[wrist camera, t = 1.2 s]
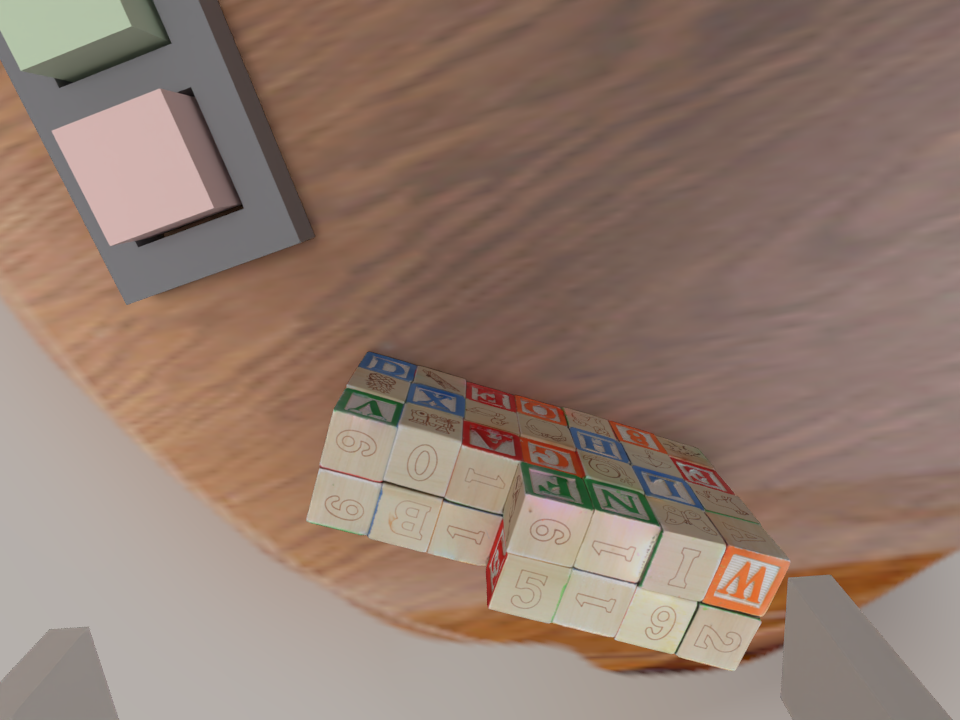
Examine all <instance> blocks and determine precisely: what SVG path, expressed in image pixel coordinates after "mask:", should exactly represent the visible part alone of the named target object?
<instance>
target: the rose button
mask: <svg viewBox="0 0 960 720" xmlns="http://www.w3.org/2000/svg"><path fill="white" fill-rule="evenodd" d="M52 133H53V135H54V137H55V139H56V141H57V143H58V145H59V147H60V149H61V151H62V153H63V155H64V157H65V159H66V161H67V163H68V165H69V167H70V169H71V171H72V172H73V174H74V176H75V178H76V180H77V182H78V184H79V186H80V188H81V190H82V192H83V194H84V196H85V198H86V200H87V202H88V204H89V206H90V208H91V210H92V212H93V214H94V216H95V218H96V220H97V222H98V224H99V226H100V228H101V230H102V232H103V234H104V235H105V237H106V239H107V241H108V243H109V245H110V246H113V245H118V244H123V243H128V242H133V241H137V240H142V239H147V238H152V237H155V236H157V235H160V234H163V233H166V232H168V231H171V230H174V229H177V228H179V227H182V226H185V225H187V224H190V223H193V222H196V221H198V220H201V219H204V218H206V217H209V216H212V215H215V214H217V213H220V212H223V211H226V210H228V209H231V208H234V207H236V206H239V205H242V202H241V200H240V197H239V195H238V193H237V191H236V188H235V186H234V184H233V182H232V179H231V177H230V175H229V172H228V170H227V168H226V166H225V163H224V161H223V159H222V157H221V154H220V152H219V150H218V147H217V145H216V143H215V141H214V138H213V136H212V134H211V132H210V129H209V127H208V125H207V122H206V120H205V118H204V116H203V113H202V111H201V109H200V106H199V104H198V102H197V100H196V97H192V96H188V95H184V94H180V93H176V92H172V91H168V90H165V89H161V88H160V89H157V90H154V91H152V92H149V93H147V94H144V95H142V96H139V97H136V98H134V99H131V100H129V101H126V102H124V103H121V104H119V105H116V106H113V107H111V108H108V109H106V110H103V111H101V112H98V113H96V114H93V115H90V116H88V117H85V118H83V119H80V120H78V121H75V122H73V123H70V124H67V125H65V126H62V127H60V128H57V129H55V130H52Z"/></svg>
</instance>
